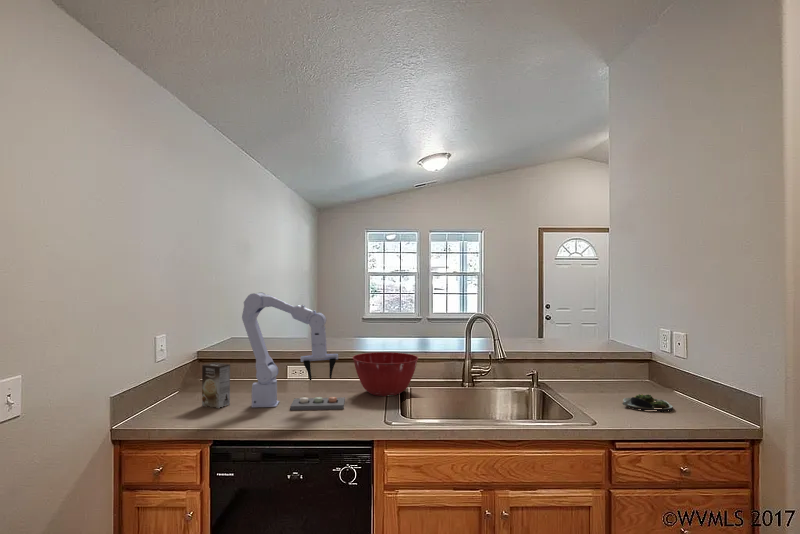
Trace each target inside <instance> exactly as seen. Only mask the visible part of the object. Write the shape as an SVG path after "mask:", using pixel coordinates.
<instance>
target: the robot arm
mask: <svg viewBox="0 0 800 534" xmlns="http://www.w3.org/2000/svg"><path fill="white" fill-rule="evenodd" d="M271 307H272V308H275V309H277V310H280V311H283V312H285V313H288V314H290V315H291V317H292V319H294V320H297V322H298V321H299V322H301V323H303V324H306V325H309V327H310V331H311V332H310V338H311V339H310V340H311V341H310V342H311V355H310V354H309V355H302V356H300V363H303V365H304V368H305V369H306V372H307V375H308V378H309V381H312V380H313V379H312V370H311V369H312V368H311V362H313V361H315V362H317V361H326V360H328V361H329V379H330V380H331V379H332V376H333V372H334V371H333V370H334V366H335V365H336V361H337V360H339V354H338V353H328V352H327V351H328V350H327V332H326V325H325V324H326V323H327V317H326V315H325V314H323V313H322V312H321V311H318V312H317V310H315V309H313V310H312V309H310V308H308V307H306V305H304V304H298V305H292V304H290V303H289V302H286V301H284V300H282V299H279V298H278V297H275V296H273V295H271V294H266V293H264V292H256V293H250V294H248V296H247V297H246V298H245V299H244V301H243V309H242V313H241V320H242V323H243V325H244V328H245V331H246V334H247V337H248V340H249V342H250V346H251V348H252V352H253V355H254V357H255V370H256V373H255V377H256V380H257V382H253V383H252V386H251V408H276V407H277V406H278V405H279V403H280V400H278V380H277V376H278V375H279V368H278V366H277V364H276V363H275V362H274V360H273V358H272V357H271V355H270V354H269V351H268V348H267V345H266V342H265V339H264V337H263V334H262V330H261V327H260V324H259V322H258V317H259V314H261V312H262V311H263V310H264V309H265V308H271Z"/></svg>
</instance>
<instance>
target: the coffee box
mask: <svg viewBox="0 0 800 534" xmlns="http://www.w3.org/2000/svg"><path fill="white" fill-rule="evenodd" d="M201 367H202V371H201V373H202V374H201V375H202V376H201V377H202V378H201V406H202V405H203V406H202V407H207V406H210V407H209V408H213V407H216V408H215V409H221V408H220V407H222V408H224V407H223V406H225V407H227V406H226V405H228V406H230V405H231V402H230V401H231V364H228V363H220V362H210V363H206V364H202V366H201ZM229 404H230V405H229Z"/></svg>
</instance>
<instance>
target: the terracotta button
mask: <svg viewBox="0 0 800 534" xmlns="http://www.w3.org/2000/svg"><path fill="white" fill-rule="evenodd" d="M328 398H329V403H336V402H337V398H338V397H337V396H330V397H328Z"/></svg>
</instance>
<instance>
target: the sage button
mask: <svg viewBox="0 0 800 534" xmlns="http://www.w3.org/2000/svg"><path fill="white" fill-rule="evenodd" d="M313 398H314V403H323V398H324V397H322V396H317V397H313Z"/></svg>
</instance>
